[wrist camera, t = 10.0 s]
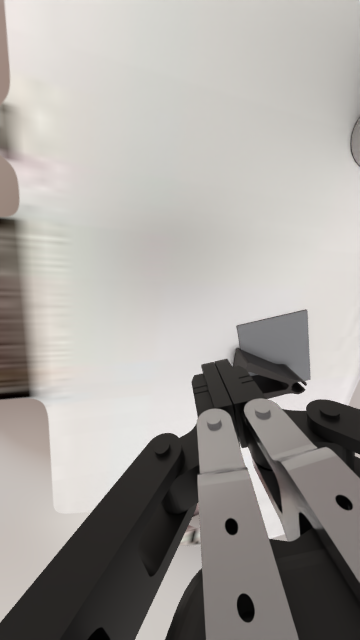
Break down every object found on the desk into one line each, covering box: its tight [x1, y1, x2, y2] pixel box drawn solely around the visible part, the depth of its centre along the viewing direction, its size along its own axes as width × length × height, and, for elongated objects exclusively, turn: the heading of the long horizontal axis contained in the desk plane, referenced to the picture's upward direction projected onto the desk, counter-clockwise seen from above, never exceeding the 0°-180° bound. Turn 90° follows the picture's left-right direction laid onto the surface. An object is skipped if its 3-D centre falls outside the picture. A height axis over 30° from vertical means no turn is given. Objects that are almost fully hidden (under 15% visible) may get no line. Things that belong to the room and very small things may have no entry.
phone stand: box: [234, 349, 307, 399], centre depth 39 cm, size 9×6×12 cm
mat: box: [237, 310, 310, 382], centre depth 41 cm, size 14×16×1 cm
